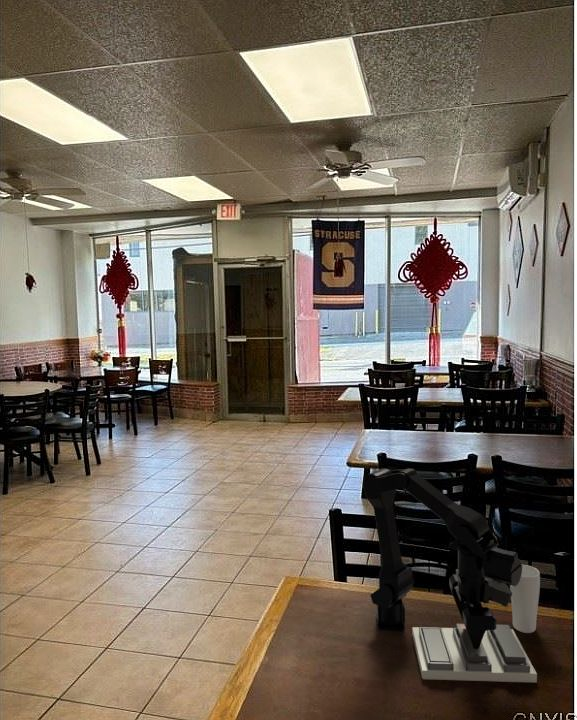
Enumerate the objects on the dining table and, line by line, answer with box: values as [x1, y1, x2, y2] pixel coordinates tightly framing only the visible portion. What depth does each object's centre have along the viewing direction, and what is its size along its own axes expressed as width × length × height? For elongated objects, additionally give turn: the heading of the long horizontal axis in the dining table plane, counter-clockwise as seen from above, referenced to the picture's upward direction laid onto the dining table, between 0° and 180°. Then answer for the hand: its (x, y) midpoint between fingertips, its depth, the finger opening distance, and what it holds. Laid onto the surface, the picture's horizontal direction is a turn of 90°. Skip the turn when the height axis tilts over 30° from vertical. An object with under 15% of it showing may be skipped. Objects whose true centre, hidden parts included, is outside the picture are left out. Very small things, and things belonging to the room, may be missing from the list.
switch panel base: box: [411, 626, 538, 683], centre depth 125 cm, size 24×16×4 cm, turn 85°
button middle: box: [455, 623, 487, 663], centre depth 124 cm, size 4×12×2 cm, turn 175°
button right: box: [491, 624, 526, 664], centre depth 123 cm, size 4×12×2 cm, turn 175°
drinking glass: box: [509, 563, 541, 634], centre depth 135 cm, size 7×7×15 cm
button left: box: [422, 628, 450, 663], centre depth 125 cm, size 4×12×2 cm, turn 175°
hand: (471, 635), depth 124 cm, fingers open, 9 cm apart
